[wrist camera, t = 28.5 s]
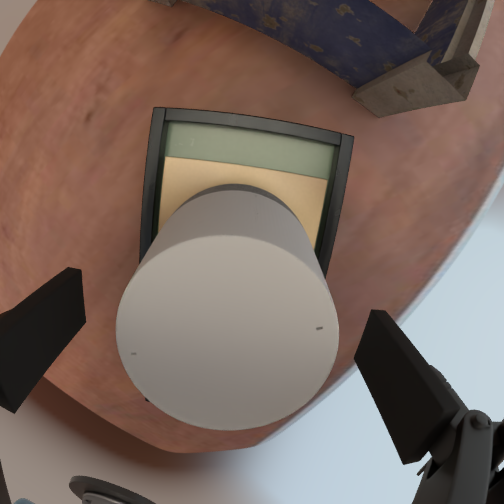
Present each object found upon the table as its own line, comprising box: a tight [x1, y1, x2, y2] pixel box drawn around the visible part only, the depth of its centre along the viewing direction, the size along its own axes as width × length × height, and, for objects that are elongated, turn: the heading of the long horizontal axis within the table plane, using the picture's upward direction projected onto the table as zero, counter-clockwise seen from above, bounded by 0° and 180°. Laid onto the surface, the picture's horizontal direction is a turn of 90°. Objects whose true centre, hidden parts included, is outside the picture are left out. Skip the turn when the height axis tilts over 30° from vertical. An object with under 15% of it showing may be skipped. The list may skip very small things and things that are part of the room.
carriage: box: [158, 156, 328, 250], centre depth 22 cm, size 14×12×4 cm
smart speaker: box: [116, 184, 339, 430], centre depth 16 cm, size 10×9×14 cm
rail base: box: [139, 107, 354, 419], centre depth 25 cm, size 28×15×2 cm, turn 171°
